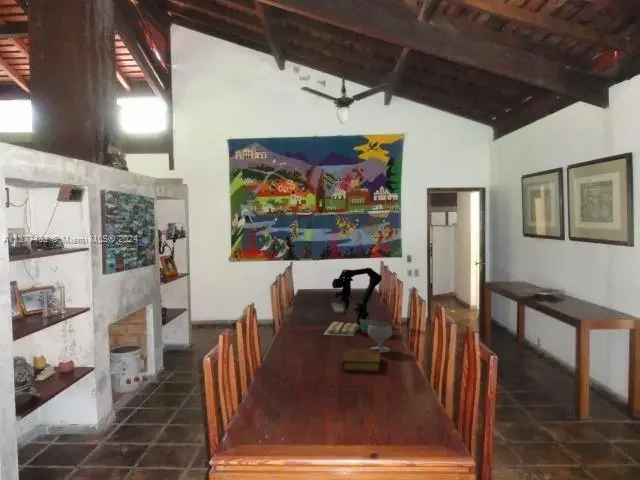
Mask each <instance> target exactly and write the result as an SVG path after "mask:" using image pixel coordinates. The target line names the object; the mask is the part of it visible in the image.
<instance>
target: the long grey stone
mask: <svg viewBox="0 0 640 480" xmlns="http://www.w3.org/2000/svg"><path fill="white" fill-rule="evenodd" d="M344 307H345V306H344V305H343V304H340V303H336V302H332V303H331V308H332V310H333V312H334V313H335V314H336V315H344V314H345V311H346V309H345V308H344Z"/></svg>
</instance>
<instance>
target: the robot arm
mask: <svg viewBox="0 0 640 480" xmlns="http://www.w3.org/2000/svg"><path fill="white" fill-rule="evenodd" d="M360 275H367V276H368V277H369V280H368V281H369V284H368V286H367V288H366V289H365V292H364V294H363V296H362V298H361V300H360V301H359V302H358V301H357V302H355V306H353V307H354V308H353V309H354V313H355V314H356V316H357V318H356V323H357V325H359V326H361V323H360V322H359V320H360V318H361V319H368V318H369V316H370V313H369V312H368V311H367V309H368V302H369V300H370V298H371V297H372V295H373V293H374V290H375V288H376V287H377V286H378V285H379V284H380V283H381V281H382V279H383V277H382V275H381V274H379V273H378V272H376V271H375V270H373V268H372V267H364V268H359V269H358V268H357V269H345V268H344V269H342V271H341V272H340V275H339V276H338V278H333V281H332V283H331V286H332V288H333V289H334V290H335V289H341V290H339V291H336V292H335V293H334V297H335V299H338V298H340V302H343V303H344V307H345V311H346V310H349V307H350V305H351V302H352V299H353V297H354V296H353V294H352V282H353V281H354V278H353V277H355V276H360Z"/></svg>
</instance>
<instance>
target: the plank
mask: <svg viewBox="0 0 640 480" xmlns="http://www.w3.org/2000/svg"><path fill="white" fill-rule="evenodd" d="M344 325H345V322H339V321H333V322H331V324H330V325H329V326H330V327H328V328H327V329H326V330H327V333H340V331H341V330H342V328H343V327H344Z"/></svg>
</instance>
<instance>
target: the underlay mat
mask: <svg viewBox="0 0 640 480" xmlns="http://www.w3.org/2000/svg"><path fill="white" fill-rule="evenodd" d="M345 325H346V324H344V326H345ZM359 326H360V325H358V324H357V327H356V329H355V331H354V333H353V334H341V331H342V330H341V331H340V333H327V329H326V330H325V332H324V333H323V335H324V336H325V335H326V336H327V335H328V336H331V335H332V336H351V337H352V336H353V337H354V335H355V333H356V332H357V330H358V328H359ZM329 327H330V325H329ZM329 327H328V328H329ZM343 328H344V327H343ZM343 328H342V329H343Z"/></svg>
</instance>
